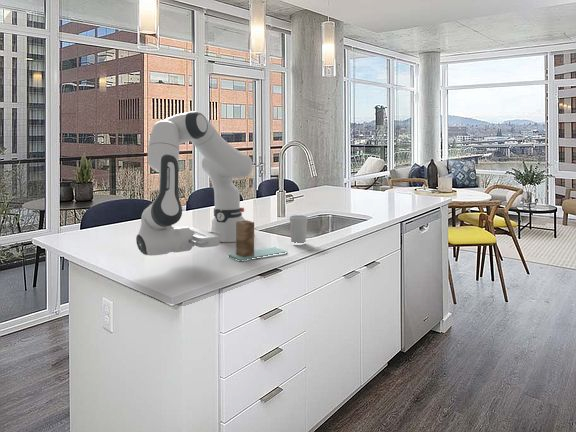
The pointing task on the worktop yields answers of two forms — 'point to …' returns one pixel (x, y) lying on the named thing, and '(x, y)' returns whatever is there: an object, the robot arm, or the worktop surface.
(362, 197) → the worktop surface
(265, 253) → the board
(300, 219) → the cup
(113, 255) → the worktop surface
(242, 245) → the block
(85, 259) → the worktop surface
